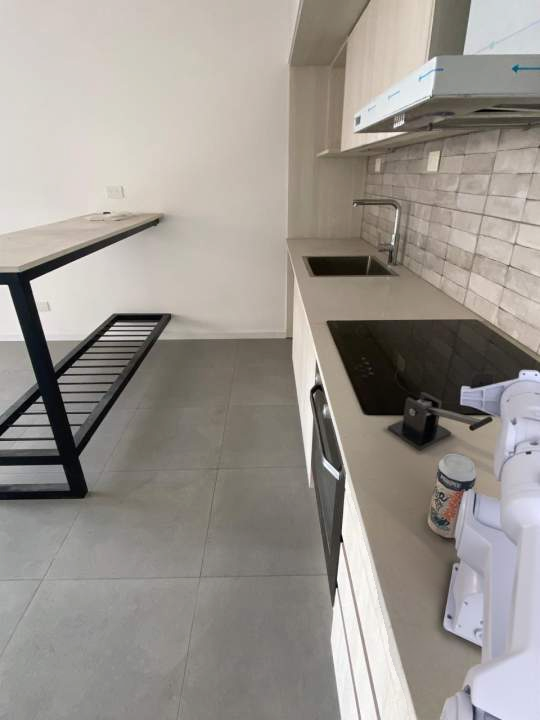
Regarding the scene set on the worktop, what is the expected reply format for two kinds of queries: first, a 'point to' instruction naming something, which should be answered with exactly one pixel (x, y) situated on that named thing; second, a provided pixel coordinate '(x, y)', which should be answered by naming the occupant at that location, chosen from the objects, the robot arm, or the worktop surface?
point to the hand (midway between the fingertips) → (522, 381)
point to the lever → (456, 416)
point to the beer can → (450, 493)
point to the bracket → (420, 424)
